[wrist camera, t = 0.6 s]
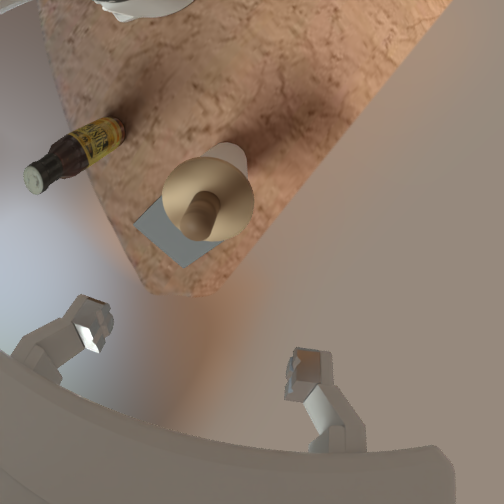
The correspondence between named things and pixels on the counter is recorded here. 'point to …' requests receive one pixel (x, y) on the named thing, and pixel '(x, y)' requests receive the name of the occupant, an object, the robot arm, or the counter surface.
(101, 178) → the counter surface
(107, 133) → the sauce bottle
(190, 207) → the lid
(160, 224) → the mat
